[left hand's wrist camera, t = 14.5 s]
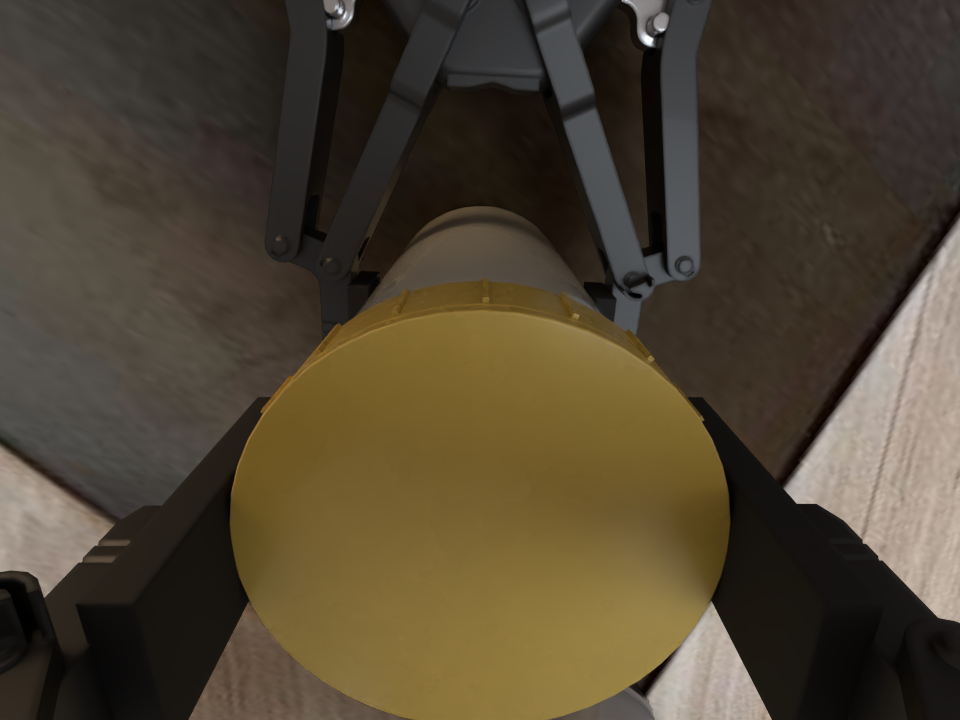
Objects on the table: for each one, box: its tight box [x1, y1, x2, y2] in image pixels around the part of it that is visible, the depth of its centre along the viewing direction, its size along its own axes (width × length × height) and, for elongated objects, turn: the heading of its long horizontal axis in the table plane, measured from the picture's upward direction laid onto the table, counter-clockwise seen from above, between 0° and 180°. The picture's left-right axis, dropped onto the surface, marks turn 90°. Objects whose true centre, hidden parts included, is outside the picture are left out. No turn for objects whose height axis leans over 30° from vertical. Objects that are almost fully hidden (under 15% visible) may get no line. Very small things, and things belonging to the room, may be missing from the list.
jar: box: [355, 206, 604, 317], centre depth 20 cm, size 8×8×19 cm
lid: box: [229, 277, 731, 720], centre depth 11 cm, size 9×9×2 cm
